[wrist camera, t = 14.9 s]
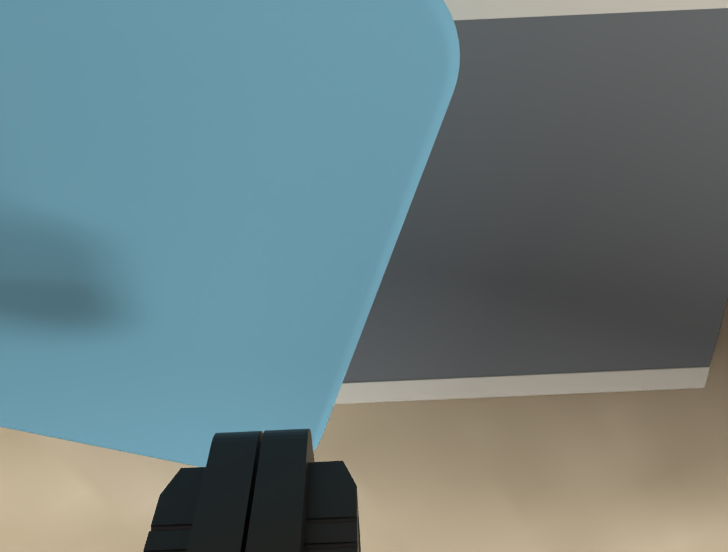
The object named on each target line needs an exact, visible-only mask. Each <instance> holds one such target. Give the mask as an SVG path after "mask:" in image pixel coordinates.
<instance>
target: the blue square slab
mask: <svg viewBox="0 0 728 552" xmlns="http://www.w3.org/2000/svg"><path fill="white" fill-rule="evenodd" d="M459 66H460V48H459V39H458V34H457V30H456V26H455V23H454V21H453V18H452V15H451V13H450V11H449V9H448V7H447V5H446V3H445V2H444V0H0V427H4V428H9V429H14V430H19V431H24V432H29V433H34V434H39V435H44V436H49V437H54V438H59V439H64V440H69V441H74V442H78V443H83V444H88V445H93V446H98V447H103V448H108V449H113V450H118V451H123V452H128V453H133V454H138V455H143V456H148V457H153V458H158V459H163V460H168V461H173V462H178V463H183V464H188V465H193V466H198V467H206V464H207V460H208V455H209V451H210V447H211V443H212V439H213V436H214V435H215V433H224V432H247V431H262V432H263V433H264V431H265V430H287V429H310V430H311V436H312V445H313V451H314V450H315V448H316V447H317V446H318V444H319V442H320V440H321V438H322V435H323V432H324V430H325V427H326V425H327V422H328V419H329V417H330V414H331V411H332V409H333V406H334V404H335V401H336V398H337V396H338V393H339V391H340V388H341V385H342V383H343V380H344V377H345V375H346V372H347V370H348V367H349V364H350V362H351V359H352V357H353V354H354V351H355V349H356V346H357V343H358V341H359V338H360V336H361V333H362V330H363V328H364V325H365V323H366V320H367V317H368V315H369V312H370V309H371V307H372V304H373V302H374V299H375V296H376V294H377V291H378V289H379V286H380V283H381V281H382V278H383V275H384V273H385V270H386V268H387V265H388V262H389V260H390V257H391V254H392V252H393V249H394V247H395V244H396V241H397V239H398V236H399V234H400V231H401V228H402V226H403V223H404V220H405V218H406V215H407V213H408V210H409V207H410V205H411V202H412V200H413V197H414V194H415V192H416V189H417V186H418V184H419V181H420V179H421V176H422V173H423V171H424V168H425V166H426V163H427V160H428V158H429V155H430V152H431V150H432V147H433V145H434V142H435V139H436V137H437V134H438V131H439V129H440V126H441V124H442V121H443V118H444V116H445V113H446V111H447V108H448V105H449V103H450V100H451V97H452V95H453V92H454V89H455V86H456V82H457V78H458V73H459Z"/></svg>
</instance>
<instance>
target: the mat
mask: <svg viewBox="0 0 728 552" xmlns="http://www.w3.org/2000/svg"><path fill="white" fill-rule="evenodd" d="M444 2H445V3H446V5H447V7H448V9H449V11H450V13H451V15H452V18H453V21H454V23H455V26H456V30H457V34H458V39H459V48H460V66H459V73H458V78H457V82H456V86H455V89H454V92H453V95H452V97H451V100H450V103H449V105H448V108H447V111H446V113H445V116H444V118H443V121H442V124H441V126H440V129H439V131H438V134H437V137H436V139H435V142H434V145H433V147H432V150H431V152H430V155H429V158H428V160H427V163H426V166H425V168H424V171H423V173H422V176H421V179H420V181H419V184H418V186H417V189H416V192H415V194H414V197H413V200H412V202H411V205H410V207H409V210H408V213H407V215H406V218H405V220H404V223H403V226H402V228H401V231H400V234H399V236H398V239H397V241H396V244H395V247H394V249H393V252H392V254H391V257H390V260H389V262H388V265H387V268H386V270H385V273H384V275H383V278H382V281H381V283H380V286H379V289H378V291H377V294H376V296H375V299H374V302H373V304H372V307H371V309H370V312H369V315H368V317H367V320H366V323H365V325H364V328H363V330H362V333H361V336H360V338H359V341H358V343H357V346H356V349H355V351H354V354H353V357H352V359H351V362H350V364H349V367H348V370H347V372H346V375H345V377H344V380H343V383H342V385H341V388H340V391H339V393H338V396H337V398H336V401H335V404H349V403H372V402H395V401H418V400H441V399H463V398H486V397H509V396H532V395H555V394H578V393H601V392H624V391H646V390H669V389H692V388H705V384H706V381H707V377H708V373H709V370H710V363H711V359H712V356H713V352H714V348H715V345H716V341H717V337H718V334H719V330H720V326H721V323H722V319H723V315H724V312H725V308H726V304H727V301H728V0H444Z"/></svg>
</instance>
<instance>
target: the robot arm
mask: <svg viewBox="0 0 728 552" xmlns="http://www.w3.org/2000/svg"><path fill="white" fill-rule="evenodd" d="M144 552H361V546H360V530H359V515H358V499H357V486H356V484H355V482H354V480H353V478H352V477H351V475H350V473H349V471H348V469H347V467H346V466H345V464H344V462H343V461H330V462H314V454H313V445H312V436H311V430H310V429H287V430H265V431H264V433H263V432H262V431H247V432H224V433H215V435H214V436H213V439H212V443H211V447H210V451H209V455H208V460H207V464H206V467H197V468H181V469H180V470H179V472H178V473H177V474H176V475H175V477H174V478H173V479H172V480H171V482H170V483H169V484H168V486H167V487H166V488H165V489H164V491H163V492H162V493H161V494H160V497H159V500H158V504H157V507H156V510H155V514H154V517H153V520H152V524H151V531H149V534H148V537H147V541H146V544H145V547H144Z"/></svg>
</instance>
